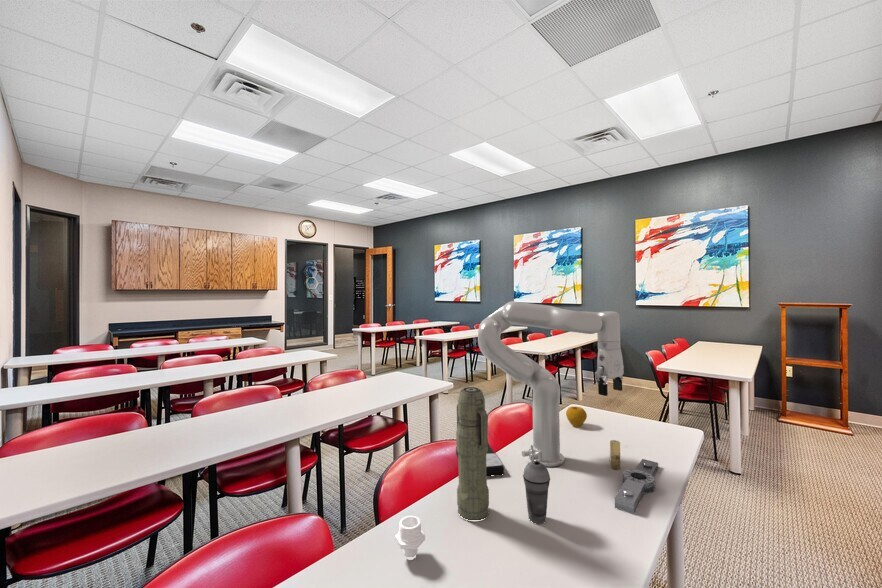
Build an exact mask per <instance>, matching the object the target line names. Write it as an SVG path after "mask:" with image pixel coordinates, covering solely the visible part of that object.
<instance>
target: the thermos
mask: <svg viewBox="0 0 882 588" xmlns="http://www.w3.org/2000/svg"><path fill="white" fill-rule="evenodd" d="M488 417H489V416H488V414H487V410H486V398H485V396H484V394H483V391H482V389H480V388H478V387H476V386H475V387H474V386H468V387H467V386H466V387H463V388H462V389H461V390H460V391H459V395H458V398H457V404H456V433H455V436H456V437H455V438H456V443H455V444H456V447H457V452H458V457H457V459H458V485H457V488H456V502H457V503H456V504H457V513H459V514H460V516H462V517H463V518H465V519H468V520H481V519H484V518H486V517H487V515H488V516H489V513H488V512H489V506H490V505H489V504H490V495H489V493H490V489H489V487H488V484H487V483H488V482H487V481H488V480H487V478H488V477H487V473H486V454H487V452H488V444H489V441H488V440H489V438H488V435H489V434H488V432H489V431H488V430H489V429H488V428H489V425H488V424H489V418H488ZM460 516H459V517H460ZM487 518H488V517H487ZM487 518H486V519H487ZM484 520H485V519H484Z"/></svg>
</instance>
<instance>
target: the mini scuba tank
mask: <svg viewBox="0 0 882 588" xmlns="http://www.w3.org/2000/svg"><path fill="white" fill-rule="evenodd" d="M530 449H531V451H532V459H533V461H530V462H528V463H527V464H526V465H525V466H524V467H525V468H524V470H523V474H522V478H523V483H524V489H525V497H526V499H525V500H526V506H527V507H526V508H527V513H528V520H529V519H530V520H529V522H531V521H532V522H533V524H534V523H536V524H535V525H543V524H545V523H546V520H547V519H546V518H547V513H548V512H547V510H548V498H549V488H550V482H551V476H550V473H549V469H548V467H547V466H545V465H544V464H542V463H541V462H538V461H535V460H534V452H533V444H531V445H530ZM532 522H531V523H532ZM544 522H545V523H544Z"/></svg>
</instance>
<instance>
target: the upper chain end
mask: <svg viewBox="0 0 882 588" xmlns="http://www.w3.org/2000/svg"><path fill="white" fill-rule="evenodd" d="M633 477H639V478H643V479H644V480H639V479H635V478H633ZM623 479H624V480H625V482H624V483H623V484H622V485H621V487H620V488H619V490H618V491H617V493H616V494H615V497H614V508H615V509H616V508H617V510H620V511H623V512H625V513H629V514H632V515H635V514H634V513H636V512H637V509H638V508H639V506H640V504H641V502H642V500H643V498H644V496H645V493H644V489H645V488H650V487H653V486H654V484H655V485H656V479H655V476H654V477H653V476H652V475H650V474H649V473H647V472H644V471H640V470H636V469H625V470H624V471H623V473H622V480H623Z"/></svg>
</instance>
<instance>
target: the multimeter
mask: <svg viewBox="0 0 882 588" xmlns="http://www.w3.org/2000/svg"><path fill="white" fill-rule="evenodd" d="M455 455H456V458H458V452H457V446H455ZM504 470H505V469H504V465H503V462H502V461H501V460H500V459H499V458H498V456H497V454H496V453H495V451H494V450H493V449H492V447H491V445H490V444H489V443H488V452H487V454H486V473H487V476H490V477H492V476H491V475H500V476H503V475H502V474H505V473H504V472H505V471H504Z"/></svg>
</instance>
